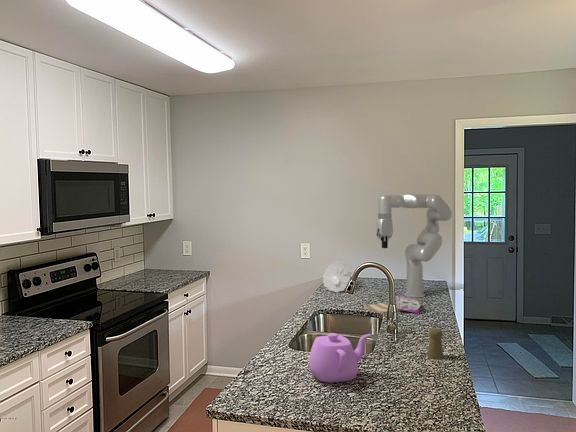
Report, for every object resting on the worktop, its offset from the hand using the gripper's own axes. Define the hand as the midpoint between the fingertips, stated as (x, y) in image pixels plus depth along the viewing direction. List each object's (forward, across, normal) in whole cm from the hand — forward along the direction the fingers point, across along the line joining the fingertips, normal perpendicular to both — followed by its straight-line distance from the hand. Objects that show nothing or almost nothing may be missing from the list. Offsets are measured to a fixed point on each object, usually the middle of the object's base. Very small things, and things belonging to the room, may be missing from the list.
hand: (384, 247), depth 281 cm
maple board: (+31, +16, +14) cm, 37 cm away
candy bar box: (+28, -1, +16) cm, 32 cm away
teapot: (+31, +97, +69) cm, 123 cm away
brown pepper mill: (+31, +53, +78) cm, 99 cm away
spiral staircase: (+31, +2, -40) cm, 51 cm away
